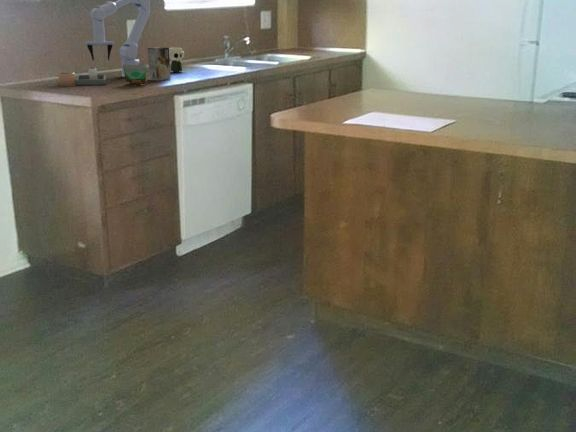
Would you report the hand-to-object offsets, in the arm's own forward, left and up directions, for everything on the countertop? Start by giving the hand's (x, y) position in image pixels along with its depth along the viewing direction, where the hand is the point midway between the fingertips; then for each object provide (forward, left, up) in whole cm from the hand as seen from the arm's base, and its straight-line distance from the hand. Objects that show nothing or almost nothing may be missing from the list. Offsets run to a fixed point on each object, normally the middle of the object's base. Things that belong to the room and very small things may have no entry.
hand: (100, 60), depth 377 cm
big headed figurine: (-40, -21, -10) cm, 46 cm away
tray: (+5, +15, -9) cm, 18 cm away
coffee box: (-29, +9, -10) cm, 32 cm away
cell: (+4, +13, -9) cm, 16 cm away
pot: (+16, +24, -9) cm, 30 cm away
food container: (-17, +29, -10) cm, 35 cm away
